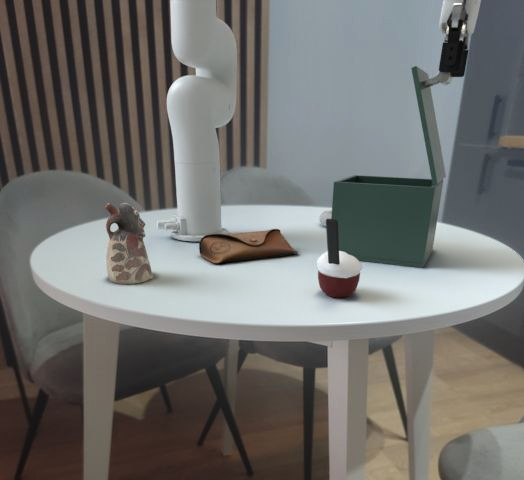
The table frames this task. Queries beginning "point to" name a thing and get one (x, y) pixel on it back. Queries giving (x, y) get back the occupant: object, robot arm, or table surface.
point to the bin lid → (430, 119)
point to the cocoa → (337, 266)
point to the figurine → (126, 246)
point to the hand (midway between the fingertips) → (451, 74)
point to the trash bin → (386, 218)
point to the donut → (325, 217)
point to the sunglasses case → (244, 246)
